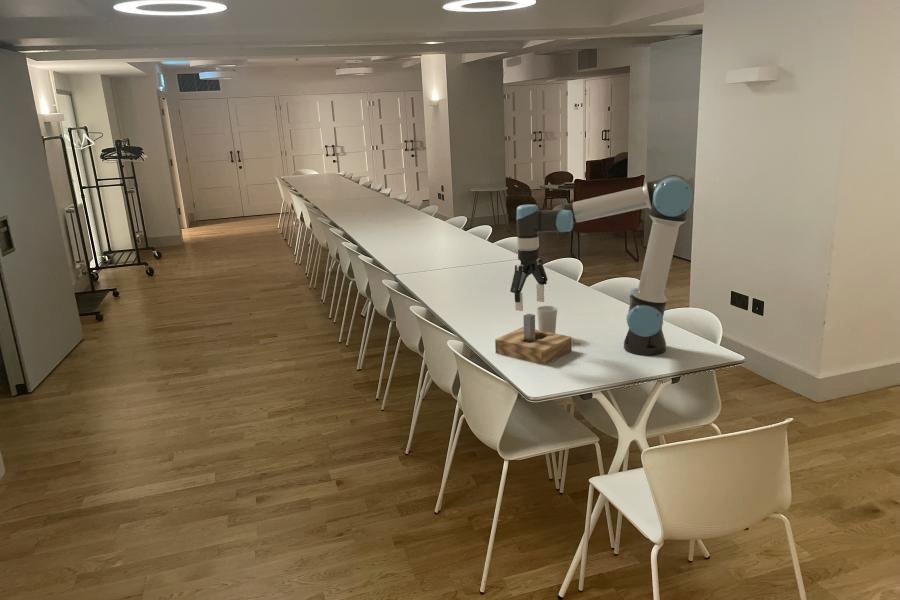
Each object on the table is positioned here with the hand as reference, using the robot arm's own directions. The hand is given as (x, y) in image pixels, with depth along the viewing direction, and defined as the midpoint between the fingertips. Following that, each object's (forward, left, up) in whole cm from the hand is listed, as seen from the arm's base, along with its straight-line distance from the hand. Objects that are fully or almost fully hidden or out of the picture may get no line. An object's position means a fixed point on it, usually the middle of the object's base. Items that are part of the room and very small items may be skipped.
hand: (530, 305), depth 241 cm
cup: (+5, -19, -19) cm, 27 cm away
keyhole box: (0, -2, -19) cm, 19 cm away
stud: (0, 0, -19) cm, 19 cm away
